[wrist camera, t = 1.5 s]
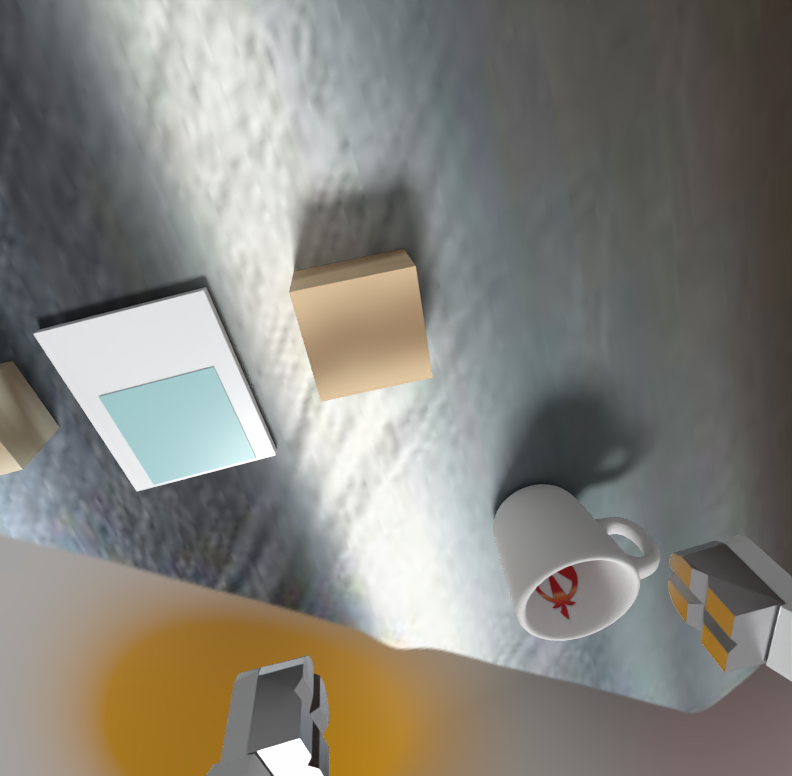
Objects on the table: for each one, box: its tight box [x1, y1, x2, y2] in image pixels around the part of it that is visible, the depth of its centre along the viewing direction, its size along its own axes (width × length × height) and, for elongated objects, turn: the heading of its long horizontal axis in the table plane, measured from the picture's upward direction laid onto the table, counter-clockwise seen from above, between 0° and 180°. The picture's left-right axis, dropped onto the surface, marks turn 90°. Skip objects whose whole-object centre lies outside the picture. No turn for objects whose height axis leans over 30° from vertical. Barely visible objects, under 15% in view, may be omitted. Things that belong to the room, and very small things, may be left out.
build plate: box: [34, 287, 277, 491], centre depth 27 cm, size 11×9×1 cm
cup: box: [493, 484, 660, 640], centre depth 33 cm, size 11×8×8 cm
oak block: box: [289, 249, 432, 401], centre depth 25 cm, size 6×6×4 cm
